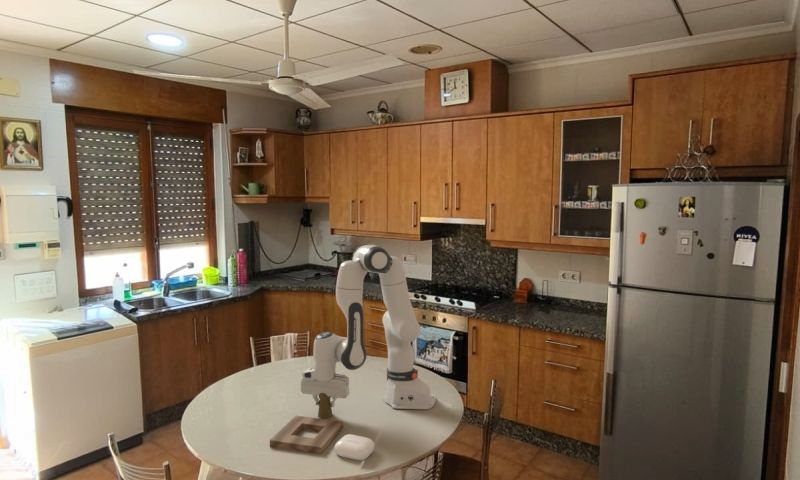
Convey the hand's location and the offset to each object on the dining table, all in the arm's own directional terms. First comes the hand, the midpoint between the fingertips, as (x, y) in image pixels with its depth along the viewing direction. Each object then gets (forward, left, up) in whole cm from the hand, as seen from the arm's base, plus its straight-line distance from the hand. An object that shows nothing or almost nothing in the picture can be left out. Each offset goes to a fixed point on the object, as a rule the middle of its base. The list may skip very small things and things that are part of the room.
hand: (325, 405), depth 194 cm
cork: (0, 0, -5) cm, 5 cm away
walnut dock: (-1, +18, -5) cm, 19 cm away
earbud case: (-22, +24, -5) cm, 32 cm away
